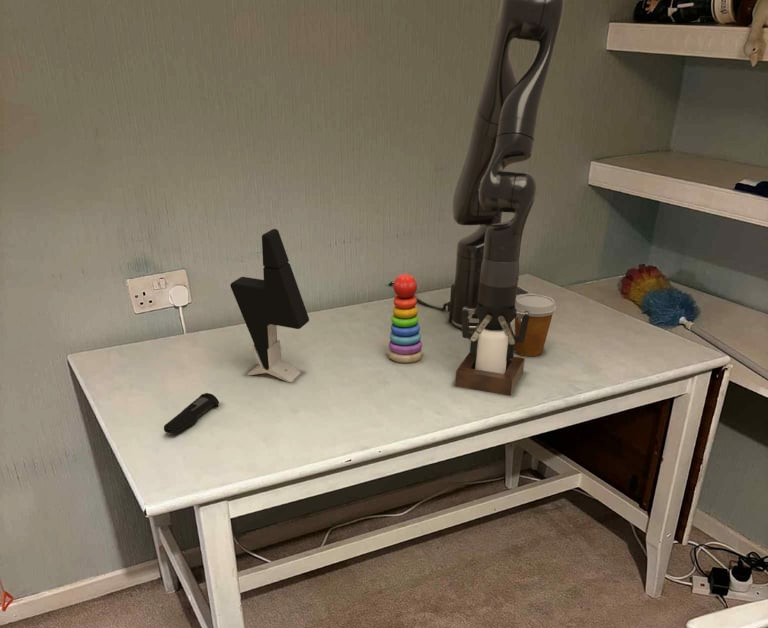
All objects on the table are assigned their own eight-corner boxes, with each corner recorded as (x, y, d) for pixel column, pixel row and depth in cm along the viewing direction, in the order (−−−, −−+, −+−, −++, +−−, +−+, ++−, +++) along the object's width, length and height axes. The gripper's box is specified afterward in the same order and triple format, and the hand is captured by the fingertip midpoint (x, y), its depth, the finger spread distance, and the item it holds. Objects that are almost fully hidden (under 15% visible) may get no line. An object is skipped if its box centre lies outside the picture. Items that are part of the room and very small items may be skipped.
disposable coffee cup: (553, 347, 181) (561, 297, 174) (543, 362, 173) (550, 310, 167) (514, 340, 184) (520, 291, 177) (502, 354, 177) (508, 303, 170)
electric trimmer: (159, 437, 143) (156, 422, 141) (205, 402, 155) (203, 387, 153) (176, 441, 142) (174, 426, 140) (221, 405, 154) (219, 391, 152)
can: (503, 387, 162) (509, 332, 156) (472, 384, 164) (477, 330, 157) (505, 374, 168) (511, 321, 161) (475, 371, 169) (480, 318, 162)
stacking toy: (408, 347, 179) (410, 266, 169) (429, 359, 174) (433, 276, 164) (380, 355, 176) (381, 273, 165) (401, 367, 170) (404, 283, 160)
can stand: (454, 386, 163) (456, 370, 161) (469, 364, 172) (471, 349, 170) (510, 395, 159) (512, 380, 157) (523, 373, 169) (524, 358, 167)
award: (312, 374, 167) (306, 231, 150) (302, 384, 162) (295, 238, 145) (249, 364, 170) (236, 223, 154) (238, 373, 166) (223, 230, 149)
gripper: (535, 276, 155) (526, 354, 165) (464, 271, 157) (459, 348, 167) (535, 288, 149) (524, 368, 159) (461, 282, 151) (455, 362, 161)
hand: (491, 357), depth 163 cm, fingers closed on can, 6 cm apart
